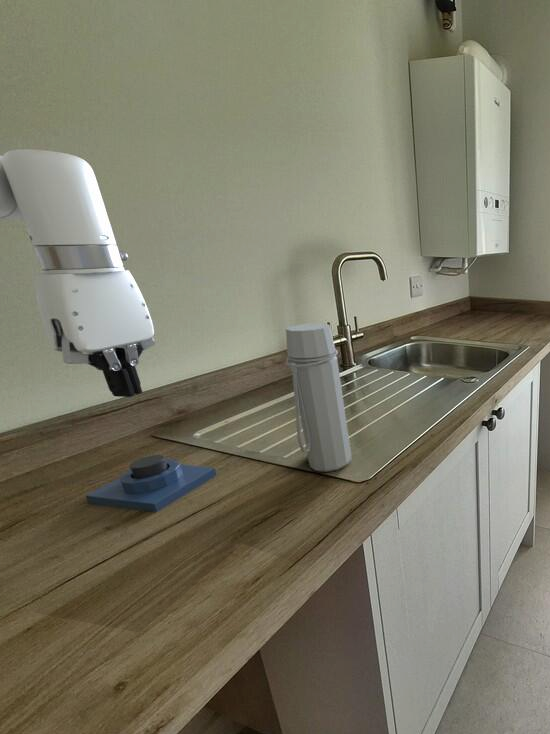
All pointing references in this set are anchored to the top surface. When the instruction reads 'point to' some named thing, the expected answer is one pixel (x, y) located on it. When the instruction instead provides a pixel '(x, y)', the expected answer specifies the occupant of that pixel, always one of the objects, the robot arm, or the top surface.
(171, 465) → the blue base plate
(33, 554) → the top surface
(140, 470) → the dark grey round knob
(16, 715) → the top surface
